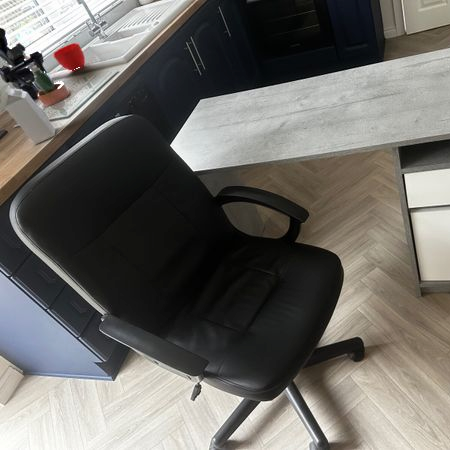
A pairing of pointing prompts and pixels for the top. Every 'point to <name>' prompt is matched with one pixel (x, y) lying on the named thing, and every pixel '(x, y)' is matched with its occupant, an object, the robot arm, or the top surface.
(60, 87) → the pot
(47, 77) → the green bottle
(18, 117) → the milk carton
